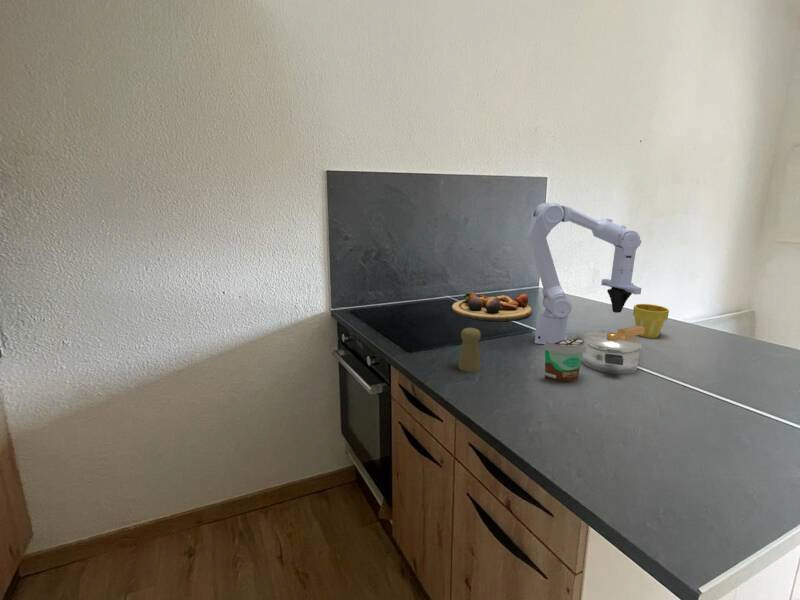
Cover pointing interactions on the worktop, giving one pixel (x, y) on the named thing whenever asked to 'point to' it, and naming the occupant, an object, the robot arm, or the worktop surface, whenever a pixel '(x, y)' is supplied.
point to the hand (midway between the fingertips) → (616, 312)
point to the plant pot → (650, 318)
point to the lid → (615, 340)
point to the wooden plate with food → (492, 307)
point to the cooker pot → (610, 360)
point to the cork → (470, 350)
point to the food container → (564, 359)
